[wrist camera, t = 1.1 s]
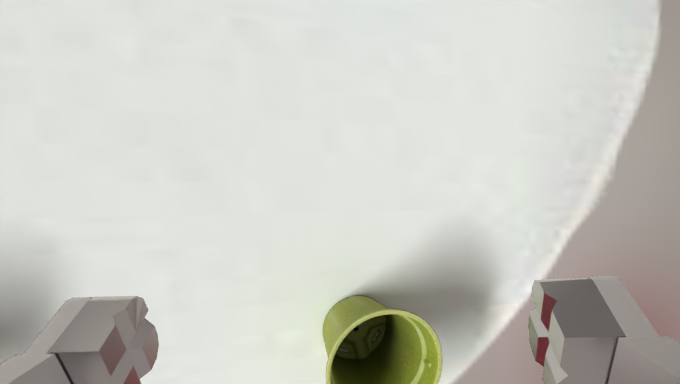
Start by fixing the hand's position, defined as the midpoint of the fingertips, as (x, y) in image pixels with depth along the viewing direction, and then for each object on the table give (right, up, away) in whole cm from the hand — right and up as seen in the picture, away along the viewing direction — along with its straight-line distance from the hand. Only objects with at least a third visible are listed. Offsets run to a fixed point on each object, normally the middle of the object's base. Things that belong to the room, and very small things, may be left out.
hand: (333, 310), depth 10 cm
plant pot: (+1, -10, +36) cm, 37 cm away
